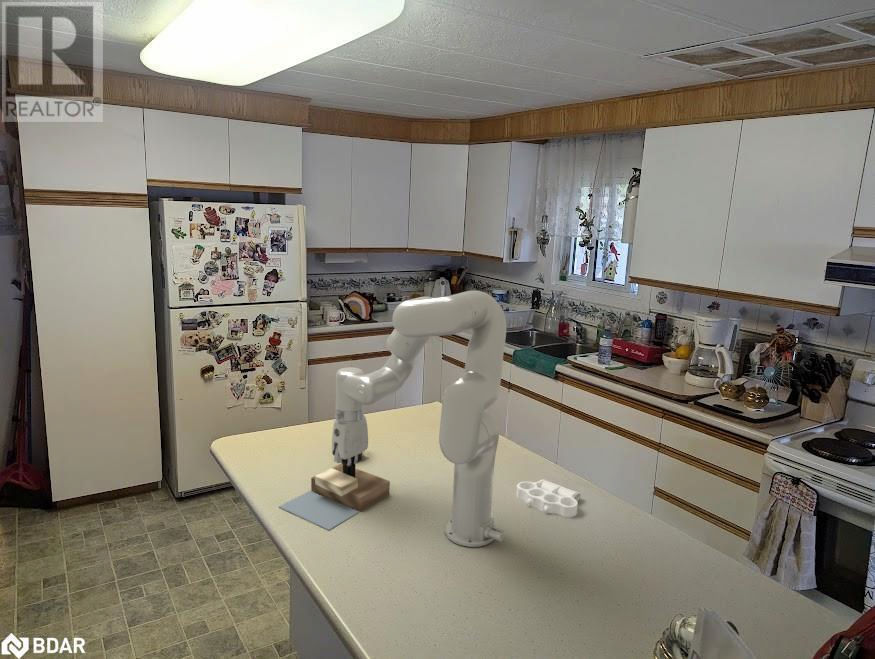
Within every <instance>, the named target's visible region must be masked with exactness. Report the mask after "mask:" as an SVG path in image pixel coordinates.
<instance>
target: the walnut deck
mask: <svg viewBox="0 0 875 659" xmlns="http://www.w3.org/2000/svg"><path fill="white" fill-rule="evenodd" d="M332 468H333V469H335V470H337V471H340V472H342V473H343V464H341V463H338V464H337V465H334V466H333V467H332ZM315 476H316V475H315ZM315 476H314V475H313V476H312V477H310V478H311V479H310V480H311V482H310V484H311V485H310V487H311V488H310V491H312V492H314V493H316V494H320V495H321V496H323V497H326V498H328V499H331V500H333V501H335V502H338V503H340V504H342V505H345V506H347V507H350V508H353V509H354V510H357V511H359V513H360V512H362V510H363V511H365V510H366V509H367V507H368V508H369V507H371V506H372V505H374V504H376V503H377V502H379V501H381V500H382V498H383V499H384V498H386V497H387V495H388V496H389V495H390V487H391V486H390V485H391V484H390V483H391V481H390V480H387V479H385V478H382V477H379V476H378V475H374V474H371V473H369V472H366V471H364V470H361V469H358V468H356V467H355V478H357V479H358V488H356V489H354V490H352V491H350V492H349V493H347V494H345V495H343V496H340V495H337V494H335V493H333V492H331V491H329V490H326V489H324V488H322V487H320V486H317V485H315Z"/></svg>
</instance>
